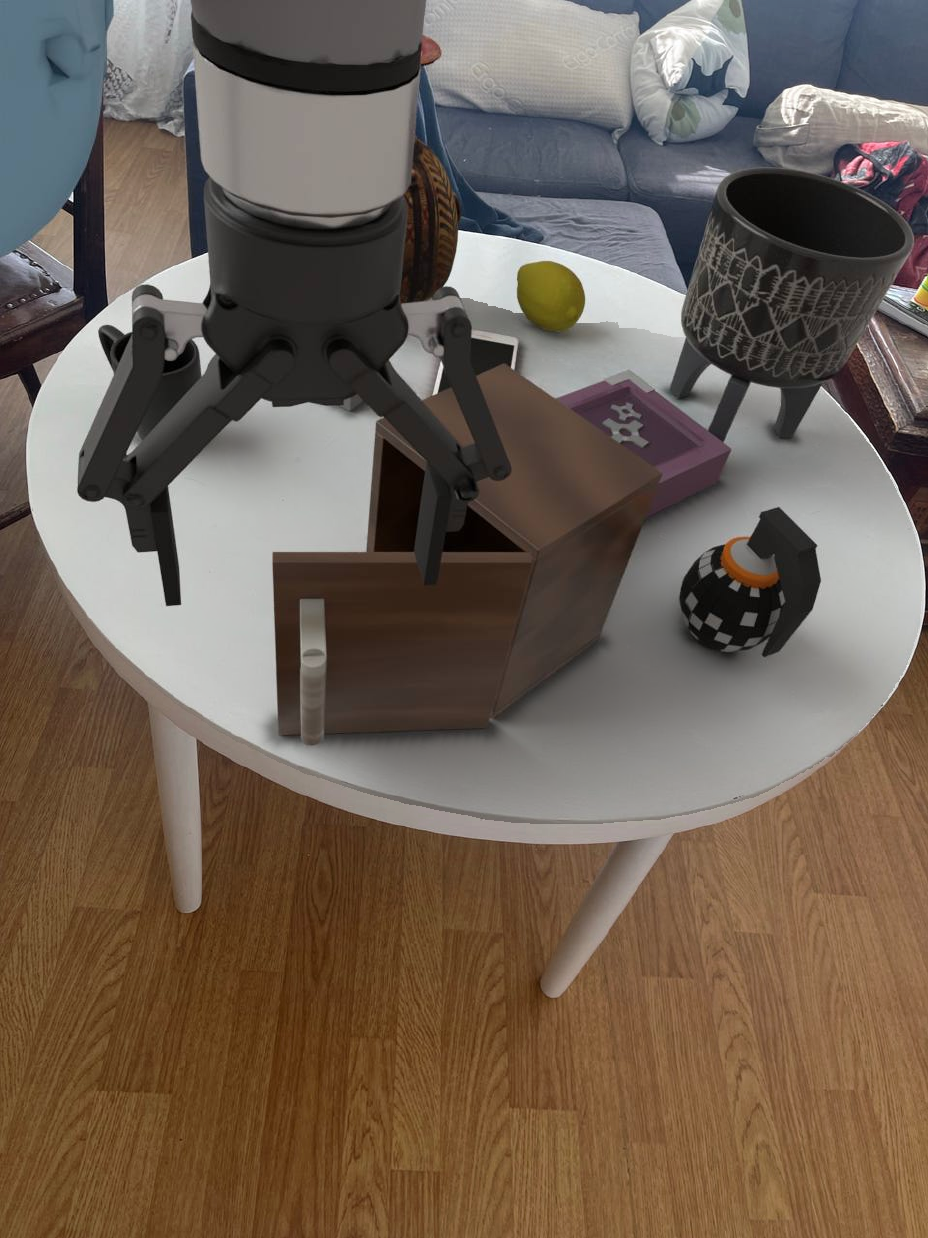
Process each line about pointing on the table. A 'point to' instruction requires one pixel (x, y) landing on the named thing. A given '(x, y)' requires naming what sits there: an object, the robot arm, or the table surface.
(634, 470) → the cupboard
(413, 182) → the vase
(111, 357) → the mug
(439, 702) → the cupboard door
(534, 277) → the lemon
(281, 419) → the table surface
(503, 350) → the cell phone
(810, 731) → the table surface
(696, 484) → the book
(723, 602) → the grenade
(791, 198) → the planter
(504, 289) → the table surface
